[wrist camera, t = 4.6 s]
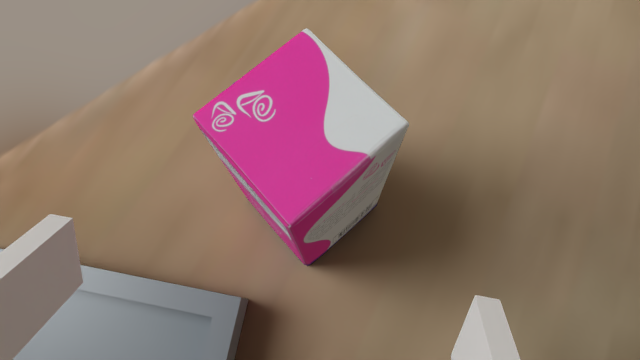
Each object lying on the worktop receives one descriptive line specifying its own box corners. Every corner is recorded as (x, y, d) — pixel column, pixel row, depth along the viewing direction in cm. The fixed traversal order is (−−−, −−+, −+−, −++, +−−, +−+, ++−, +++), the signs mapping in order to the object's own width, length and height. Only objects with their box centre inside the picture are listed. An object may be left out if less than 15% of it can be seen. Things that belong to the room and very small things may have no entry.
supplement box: (313, 137, 27) (310, 19, 16) (378, 205, 26) (421, 127, 15) (242, 195, 26) (186, 112, 15) (306, 270, 25) (295, 236, 14)
